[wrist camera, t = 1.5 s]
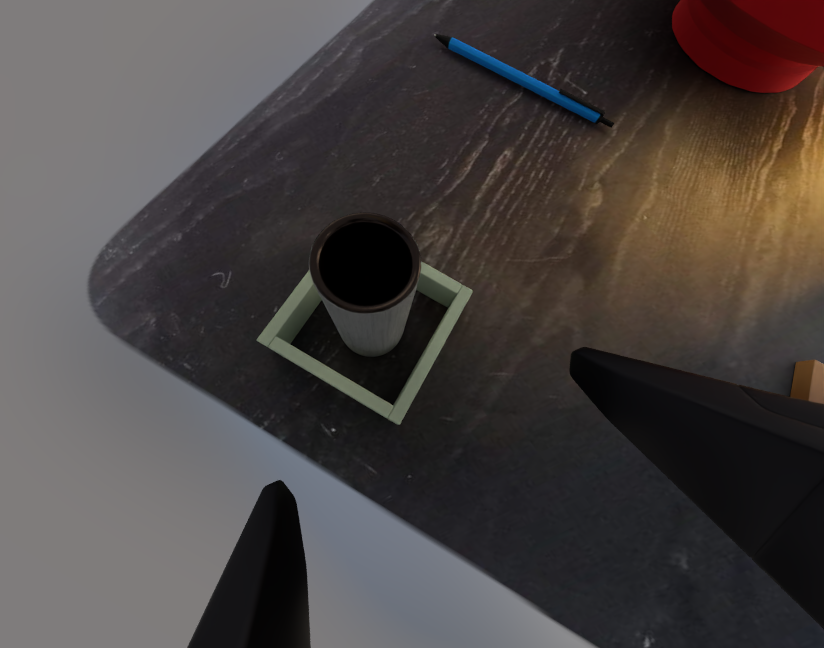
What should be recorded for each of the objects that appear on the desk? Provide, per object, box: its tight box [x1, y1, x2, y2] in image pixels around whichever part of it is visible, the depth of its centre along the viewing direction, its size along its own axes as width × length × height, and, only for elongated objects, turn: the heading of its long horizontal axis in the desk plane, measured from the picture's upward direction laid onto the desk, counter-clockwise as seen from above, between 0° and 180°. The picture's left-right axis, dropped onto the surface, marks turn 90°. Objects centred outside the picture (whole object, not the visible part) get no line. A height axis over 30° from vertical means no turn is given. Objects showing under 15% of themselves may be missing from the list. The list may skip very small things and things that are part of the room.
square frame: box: [257, 262, 473, 425], centre depth 21 cm, size 10×10×3 cm
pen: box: [434, 34, 614, 127], centre depth 30 cm, size 1×19×1 cm, turn 61°
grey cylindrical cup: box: [309, 213, 421, 357], centre depth 18 cm, size 4×4×10 cm
